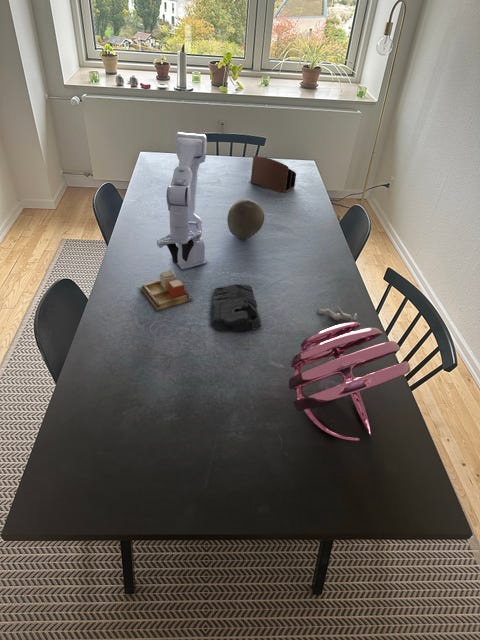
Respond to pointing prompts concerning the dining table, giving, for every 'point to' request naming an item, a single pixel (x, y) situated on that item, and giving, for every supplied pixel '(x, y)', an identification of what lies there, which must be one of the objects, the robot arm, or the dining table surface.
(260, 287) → the dining table surface
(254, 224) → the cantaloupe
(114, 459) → the dining table surface
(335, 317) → the soldier figure
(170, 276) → the cream panelled block
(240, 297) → the dark slate chunk
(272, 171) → the letter holder
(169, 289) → the red block with panel
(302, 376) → the pink slatted stand
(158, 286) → the divided wooden tray
